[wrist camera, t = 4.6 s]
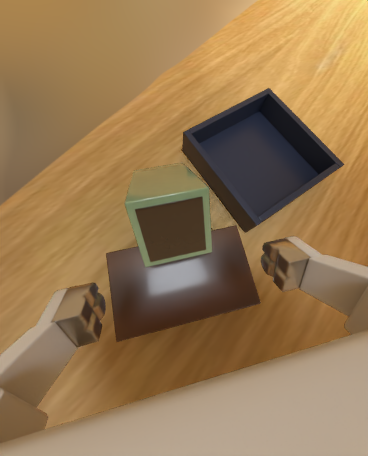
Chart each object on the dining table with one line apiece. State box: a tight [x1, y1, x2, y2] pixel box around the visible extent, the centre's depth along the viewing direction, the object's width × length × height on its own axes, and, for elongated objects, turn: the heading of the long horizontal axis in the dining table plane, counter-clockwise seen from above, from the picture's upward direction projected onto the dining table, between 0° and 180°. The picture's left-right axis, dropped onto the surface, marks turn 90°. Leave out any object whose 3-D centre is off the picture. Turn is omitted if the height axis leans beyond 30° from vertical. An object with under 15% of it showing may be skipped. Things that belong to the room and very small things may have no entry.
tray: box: [182, 88, 344, 232], centre depth 22 cm, size 13×13×3 cm
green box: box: [125, 163, 212, 267], centre depth 16 cm, size 10×5×10 cm, turn 13°
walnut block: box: [106, 226, 261, 342], centre depth 17 cm, size 7×12×4 cm, turn 103°
